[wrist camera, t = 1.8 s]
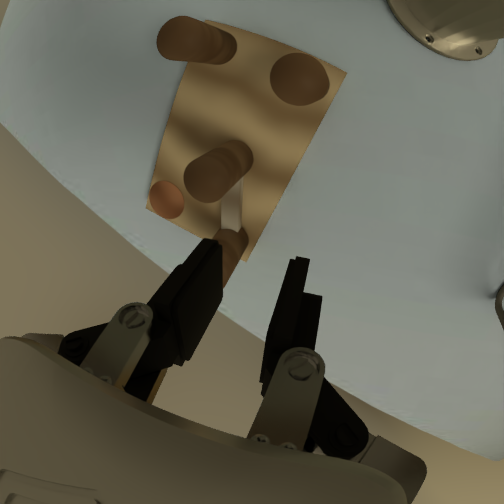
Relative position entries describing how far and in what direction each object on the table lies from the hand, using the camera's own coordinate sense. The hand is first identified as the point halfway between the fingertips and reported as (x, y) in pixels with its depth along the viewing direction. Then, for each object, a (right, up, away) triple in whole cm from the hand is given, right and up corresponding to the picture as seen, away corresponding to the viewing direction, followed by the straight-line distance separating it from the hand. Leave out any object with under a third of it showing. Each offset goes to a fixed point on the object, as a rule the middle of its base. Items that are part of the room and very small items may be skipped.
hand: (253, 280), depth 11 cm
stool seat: (-2, +12, +16) cm, 21 cm away
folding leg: (-2, +6, +17) cm, 18 cm away
